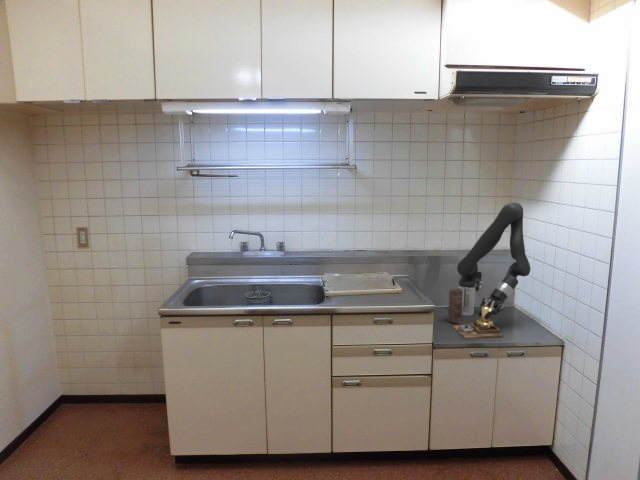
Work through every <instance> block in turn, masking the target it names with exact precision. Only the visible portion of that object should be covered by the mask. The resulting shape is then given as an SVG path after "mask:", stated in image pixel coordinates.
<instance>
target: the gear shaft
mask: <svg viewBox="0 0 640 480" xmlns="http://www.w3.org/2000/svg"><path fill="white" fill-rule="evenodd" d="M489 310H490V307H489V306H488V305H487V306H482V313H481V317H480V319H477V320H476V322H477V325H480V326H481V327H488V328H490V327H493V325H494V321H493V320H492V321H491V320H490V318H489V319H487V320H486V319H485V318H484V316H485V315H486V314H487V313H488V312H489Z"/></svg>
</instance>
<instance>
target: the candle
mask: <svg viewBox="0 0 640 480" xmlns="http://www.w3.org/2000/svg"><path fill="white" fill-rule="evenodd" d="M448 291H449V295H448V297H449V298H448V318H447V319H448V321H449V322H450V323H454V324H459V325H462V323H463V315H462V297H463V289H460V288H459V287H453V288H452V287H451V288H448Z"/></svg>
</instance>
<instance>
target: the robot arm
mask: <svg viewBox="0 0 640 480" xmlns="http://www.w3.org/2000/svg"><path fill="white" fill-rule="evenodd" d="M523 222H524V208H523V206H522V205H521V204H520V203H518V202H511V203H507V204H504V206H503V207H502V208H501V209H500V211H499V212H498V214H497V216H496V217H495V219H494V220H493V222H492V223H491V224H490V225H489V226H488V227H487V228H486V230H485V231H483V233H482V234H481V236H479V238H478V240H477V241H476V243H475V244H474V245H473V246H472V248H471V249H470V251H469V252H468V253H467V254H466V255H465V256H464V257H463V258H462V259H461V260H460V261H459V262H458V264H457V265H456V266H457V267H456V271H457V273H458V274H459V275H460V276H461V277H460V279H459V281H458V288H460V289H463V297H462V316H469V317H470V316H473V315H474V312H475V297H476V296H475V294H476V284H477V282H478V281H477V280H478V274H479V273H478V272H479V265H478V262H480V260H482V258H484V257H485V256H487V255H489V254H490V252H491V251H492V250H493V249H494V248H495V247H496V246H497V245H498V243H499V242H500V240H501V239H502V237H503V234H504V232H505V231H506V229H508V228H509V226H510V234H509V235H510V236H509V251H510V257H511V258H512V259H513V260H515V262H513V263H511V265H509V267H508V270H507V272H506V275H505V276H504V278H503V279H502V280H501V282H500V283H499V284H497V286H496V287H495V288H494V290H493V291H492V292H491V293H490V296H489V298H485V297H483V298H482V301H481V303H480V305H479V307H480V308H481V309H480V310H479V312H478V313H477V316H479V317H480V318H481V313H482V306H489V307H490V310H489V312H488V313H487V314H486V315H485V316H484V318H485V319H486V320H487V319H489V320H490V317H492V316H493V315H495V316H497V314H499V313H500V312H501V311H503V310H504V309H505V308H504V306H503V305H502V304H504V303H505V302H506V300H507V299H508V297H510V295H511V293H512V292H513V291H514V289H515V288H516V287H517V286H518V284H519V280H518V278H517V277H518V276H519V277H527V276H529V275H530V272H531V264H530V262H529V259H528V257H527V256H526V247H525V240H524V228H523V227H524V225H523V224H524V223H523Z"/></svg>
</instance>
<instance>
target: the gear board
mask: <svg viewBox="0 0 640 480" xmlns="http://www.w3.org/2000/svg"><path fill="white" fill-rule="evenodd" d="M452 328H453V329H455V331H456V332H457V333H458V334H459V335H460V336H461V337H462V338H463V339H465V340H476V339H478V340H480V339H496V338H497V339H498V338H501V339H502V338H504V337H503V334H502V333H501V331H500V330H501V329H500V328H499V327H497V326H496V325H495V324H493V327H490V328H488V327H481V326H480V325H477V321H476V322H475V321H474V322H469V323H465V324H453V325H452Z"/></svg>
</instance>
